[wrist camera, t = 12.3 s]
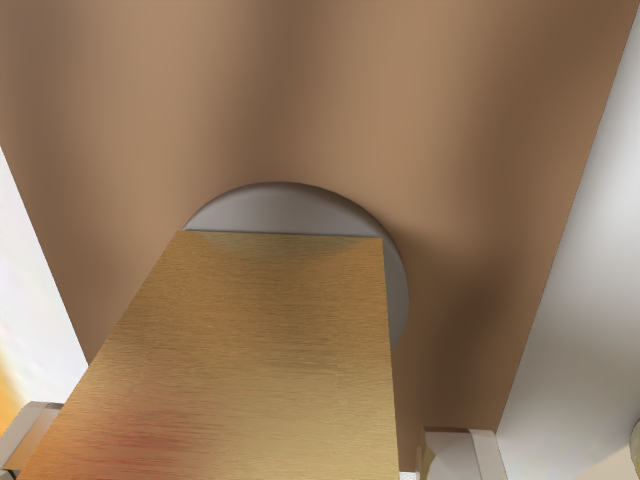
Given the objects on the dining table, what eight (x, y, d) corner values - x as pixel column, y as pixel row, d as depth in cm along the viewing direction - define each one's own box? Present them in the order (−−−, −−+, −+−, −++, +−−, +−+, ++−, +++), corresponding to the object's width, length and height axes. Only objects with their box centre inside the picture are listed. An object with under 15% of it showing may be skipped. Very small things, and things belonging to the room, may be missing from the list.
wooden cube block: (382, 237, 12) (401, 509, 6) (370, 379, 15) (376, 652, 9) (177, 230, 13) (15, 479, 7) (205, 370, 16) (111, 627, 10)
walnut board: (613, -88, 11) (1316, -181, 3) (469, 426, 22) (534, 710, 14) (-14, -81, 12) (-784, -139, 4) (144, 405, 23) (25, 658, 15)
